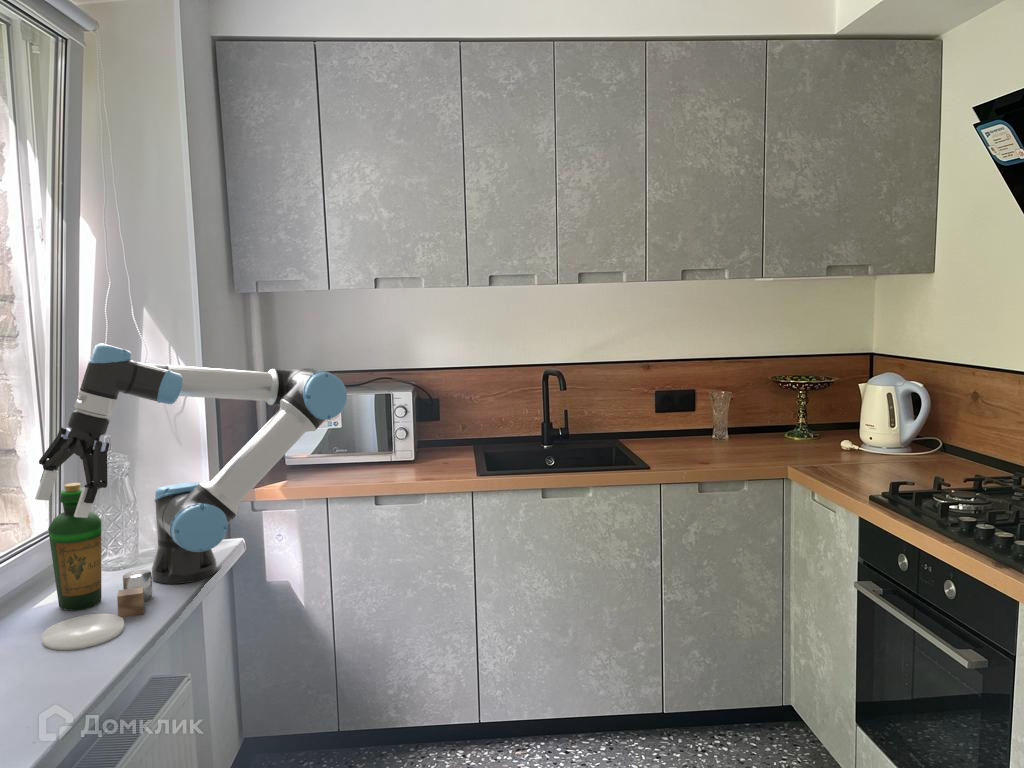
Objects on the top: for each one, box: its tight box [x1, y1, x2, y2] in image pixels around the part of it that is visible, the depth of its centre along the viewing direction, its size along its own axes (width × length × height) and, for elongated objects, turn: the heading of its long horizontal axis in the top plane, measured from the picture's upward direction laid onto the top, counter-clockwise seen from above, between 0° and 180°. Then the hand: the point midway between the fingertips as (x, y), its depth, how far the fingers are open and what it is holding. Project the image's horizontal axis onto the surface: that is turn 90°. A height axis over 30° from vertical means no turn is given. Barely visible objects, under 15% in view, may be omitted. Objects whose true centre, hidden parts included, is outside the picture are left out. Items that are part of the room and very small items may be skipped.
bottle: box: [47, 482, 102, 611], centre depth 175 cm, size 11×11×28 cm
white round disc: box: [41, 613, 125, 651], centre depth 161 cm, size 15×15×1 cm
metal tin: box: [122, 569, 154, 604], centre depth 179 cm, size 6×6×6 cm
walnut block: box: [116, 587, 145, 619], centre depth 172 cm, size 5×4×5 cm
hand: (60, 508), depth 167 cm, fingers open, 13 cm apart
